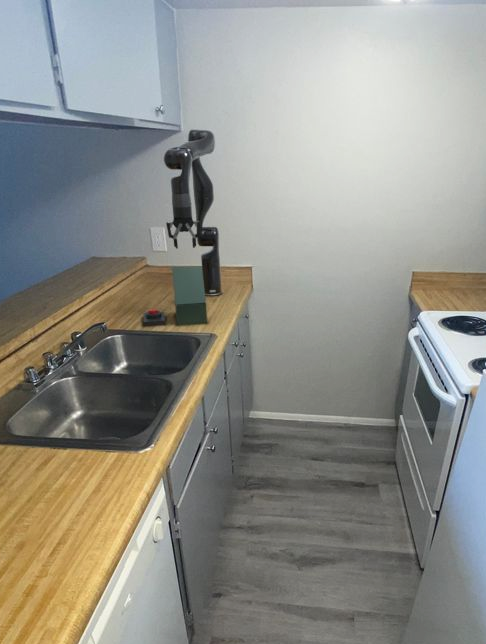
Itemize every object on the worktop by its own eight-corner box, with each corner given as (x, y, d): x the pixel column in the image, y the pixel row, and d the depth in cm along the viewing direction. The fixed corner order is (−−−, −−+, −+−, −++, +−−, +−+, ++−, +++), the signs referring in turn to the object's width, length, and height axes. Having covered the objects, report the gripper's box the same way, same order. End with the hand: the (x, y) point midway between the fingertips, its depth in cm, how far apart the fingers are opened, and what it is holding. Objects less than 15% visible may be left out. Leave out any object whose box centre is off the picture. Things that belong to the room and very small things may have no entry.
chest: (176, 314, 216) (174, 295, 212) (203, 312, 219) (202, 293, 215) (177, 325, 203) (176, 305, 199) (207, 323, 206) (205, 304, 201)
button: (149, 312, 207) (148, 308, 206) (157, 312, 208) (157, 308, 207) (149, 315, 204) (148, 311, 203) (157, 314, 205) (157, 310, 204)
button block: (144, 317, 212) (143, 309, 210) (164, 316, 214) (163, 307, 212) (144, 326, 201) (142, 317, 200) (165, 325, 203) (164, 316, 201)
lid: (171, 268, 201) (171, 267, 200) (201, 266, 203) (201, 265, 202) (175, 305, 199) (175, 304, 198) (205, 303, 202) (205, 302, 201)
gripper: (198, 203, 194) (201, 245, 202) (163, 204, 191) (167, 246, 199) (200, 206, 188) (203, 249, 196) (163, 206, 185) (168, 250, 193)
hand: (185, 247), depth 197 cm, fingers open, 6 cm apart
